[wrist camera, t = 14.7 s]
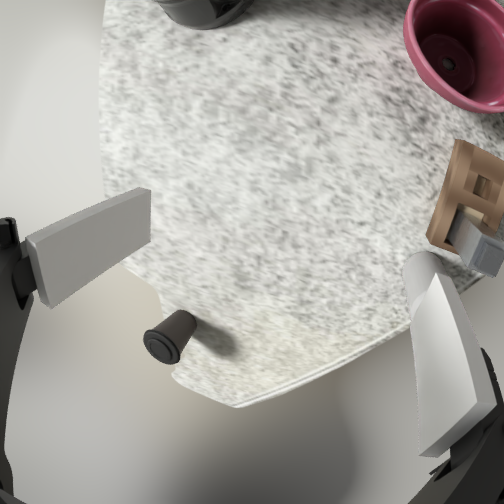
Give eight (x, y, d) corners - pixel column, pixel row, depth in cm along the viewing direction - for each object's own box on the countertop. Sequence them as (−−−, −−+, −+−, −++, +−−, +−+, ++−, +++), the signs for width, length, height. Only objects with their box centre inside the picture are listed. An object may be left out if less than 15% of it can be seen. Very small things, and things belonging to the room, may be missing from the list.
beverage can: (449, 265, 35) (472, 312, 25) (421, 296, 39) (434, 348, 28) (420, 240, 36) (439, 282, 26) (392, 273, 39) (399, 323, 29)
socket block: (455, 138, 29) (463, 140, 26) (506, 165, 27) (517, 168, 24) (425, 234, 35) (430, 244, 32) (474, 254, 33) (482, 264, 30)
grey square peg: (455, 207, 31) (486, 237, 22) (478, 217, 30) (512, 250, 21) (445, 234, 33) (470, 272, 24) (467, 244, 32) (496, 283, 23)
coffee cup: (170, 329, 60) (143, 358, 52) (166, 298, 57) (136, 327, 48) (203, 341, 58) (179, 374, 49) (202, 310, 54) (174, 342, 46)
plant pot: (395, 106, 30) (413, 95, 19) (388, 11, 25) (397, -33, 14) (490, 125, 26) (539, 129, 15) (483, 32, 20) (522, 5, 9)
